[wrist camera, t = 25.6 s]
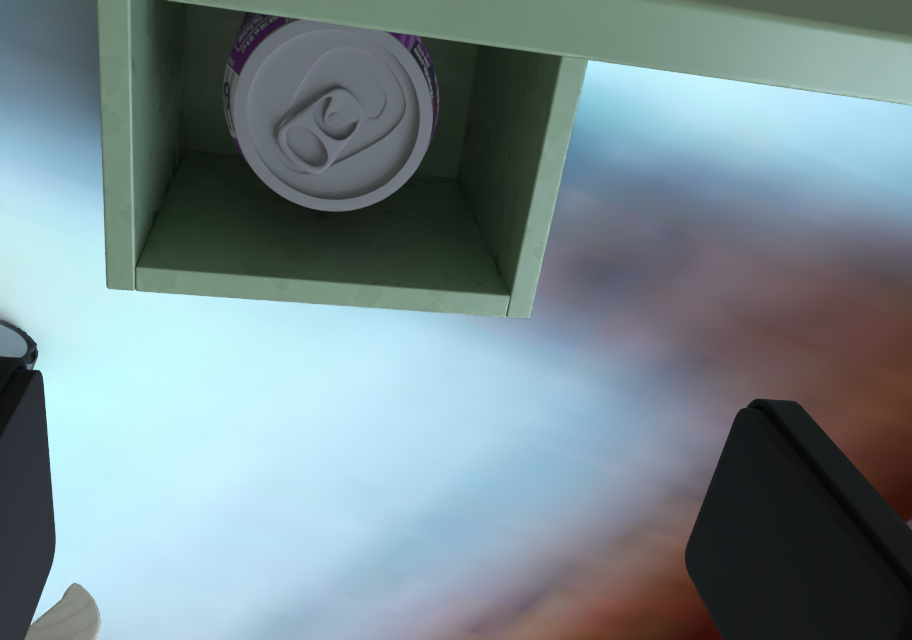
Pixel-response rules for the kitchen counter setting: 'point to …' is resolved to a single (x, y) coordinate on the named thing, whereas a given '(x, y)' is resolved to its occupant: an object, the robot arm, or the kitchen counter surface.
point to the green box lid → (662, 35)
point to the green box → (316, 231)
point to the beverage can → (329, 108)
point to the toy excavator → (76, 615)
